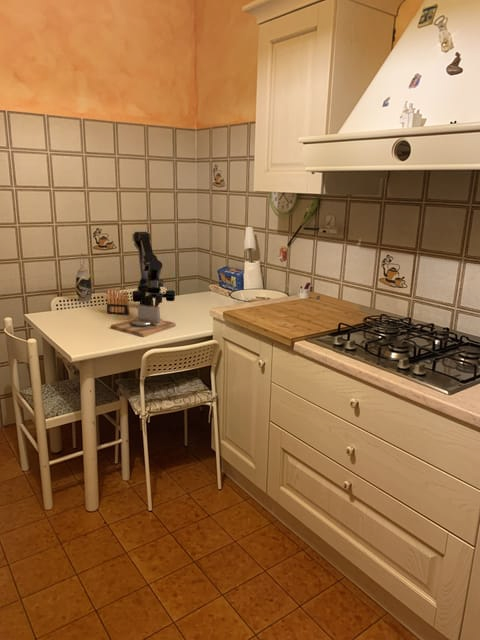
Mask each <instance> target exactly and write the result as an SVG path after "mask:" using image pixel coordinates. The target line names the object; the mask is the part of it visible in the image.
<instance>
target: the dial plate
mask: <svg viewBox="0 0 480 640" xmlns="http://www.w3.org/2000/svg"><path fill="white" fill-rule="evenodd" d="M136 318H138V316H137V317H133V318H130V319H127V320H123V321H120V322H116V323H112V324H111V325H110V329H112V330H116V331H119V332H123V333H128V334H129V335H134V336H137V337H141V338H146V337H148V336H151V335H153V334H154V335H155V334H157V333H160V332H163V331H166V330H168V329H171V328H175V327H176V325H177V323H176V322H172V321H169V320H164V319H161V318H160V323H158V324H156V323H155V324H153V325H151V326H134V325H132V320H133V319H136Z"/></svg>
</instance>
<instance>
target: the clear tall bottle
mask: <svg viewBox="0 0 480 640" xmlns="http://www.w3.org/2000/svg"><path fill="white" fill-rule="evenodd" d="M81 255H82V258H83V260H85V256H84V255H83V253H80V255H79V258H81ZM79 264H80V268H79V269H77V275H75V277H76V278H75V290H76V291H75V292H76V295H77V298H78V297H79V301H78V302H90V301H91V300H92V296H93V295H92V293H93V291H92V281H91V279H92V276H91V274H89V272H88V271H89V269H87V268H86V267H85V266H84V264H85V261H83V263H81V261H79Z"/></svg>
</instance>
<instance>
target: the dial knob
mask: <svg viewBox="0 0 480 640" xmlns="http://www.w3.org/2000/svg"><path fill="white" fill-rule="evenodd" d="M160 316H161V311H160V306H159V305H158V306H155V305H154V306H149V305H143V304H140V303H139V304H138V305H137V317H138V318H136V317H135V318H136V319H133V318H132V319H133V320H132V325H134V326H151V325H153V324H155V323H156V324H158V323H160V319H161V317H160Z"/></svg>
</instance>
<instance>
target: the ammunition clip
mask: <svg viewBox="0 0 480 640" xmlns="http://www.w3.org/2000/svg"><path fill="white" fill-rule="evenodd" d="M106 292H107V293H106V294H107V296H106V303H107V304H106V314H107V315H116V316H117V315H118V316H129V315H130V305H129V297H128V296H129V295H128V291H127V290H125V291H124V290H118V291H117V290H116V289H115V290H114V291H113V289H111V290H110V289H107V291H106Z"/></svg>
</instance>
